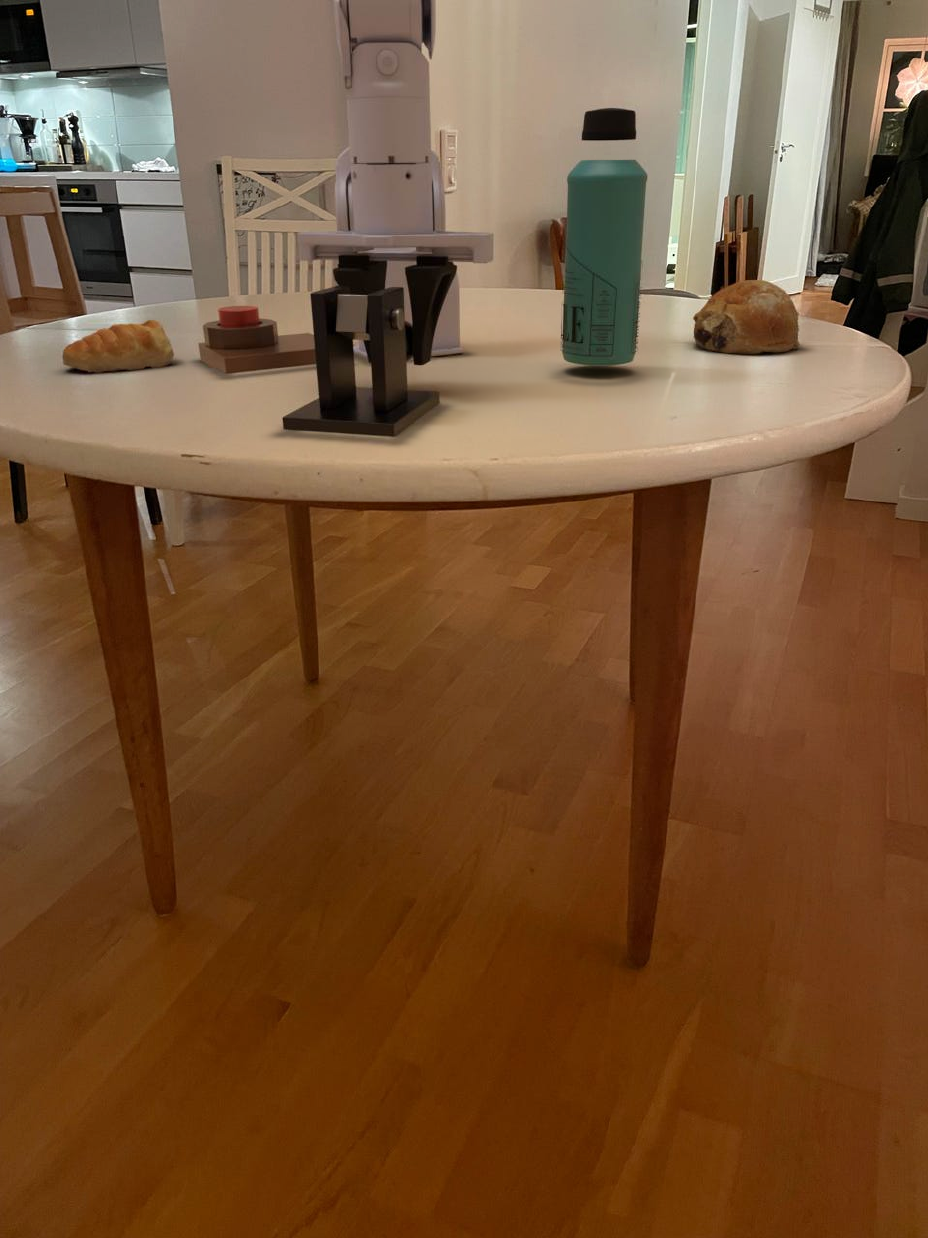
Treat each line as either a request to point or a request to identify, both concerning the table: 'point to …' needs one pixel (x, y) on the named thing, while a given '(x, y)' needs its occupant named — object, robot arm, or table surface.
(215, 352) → the button block
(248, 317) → the button
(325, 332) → the bracket
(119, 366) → the pastry
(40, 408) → the table surface
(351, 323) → the lever
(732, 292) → the bread roll
